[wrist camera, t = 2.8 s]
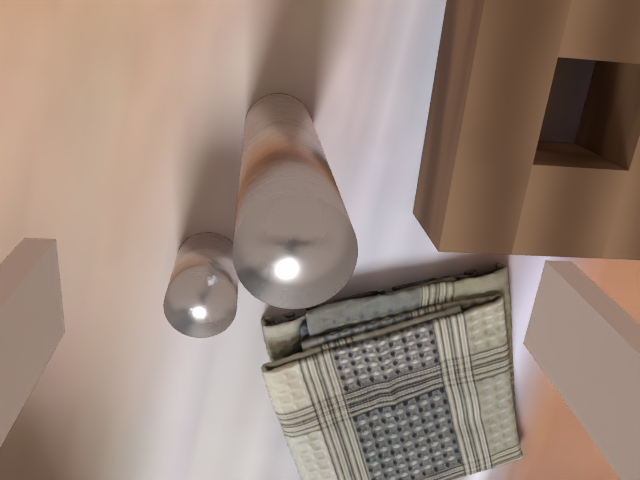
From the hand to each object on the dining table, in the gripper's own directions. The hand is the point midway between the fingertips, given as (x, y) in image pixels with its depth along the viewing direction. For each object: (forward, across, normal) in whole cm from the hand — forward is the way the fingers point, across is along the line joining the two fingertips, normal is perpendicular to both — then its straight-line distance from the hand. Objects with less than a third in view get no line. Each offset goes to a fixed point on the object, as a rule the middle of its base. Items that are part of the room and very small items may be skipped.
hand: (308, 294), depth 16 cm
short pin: (+21, -4, -9) cm, 23 cm away
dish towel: (+22, +10, -19) cm, 31 cm away
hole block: (+21, +16, +3) cm, 26 cm away
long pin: (+21, 0, 0) cm, 21 cm away
